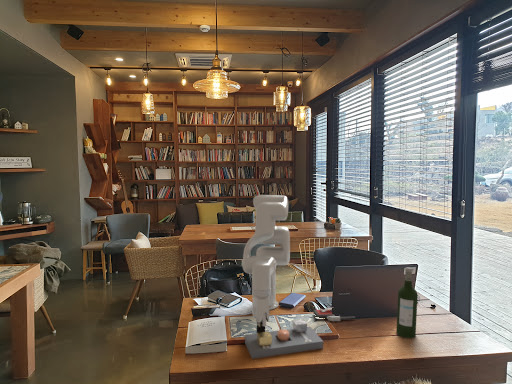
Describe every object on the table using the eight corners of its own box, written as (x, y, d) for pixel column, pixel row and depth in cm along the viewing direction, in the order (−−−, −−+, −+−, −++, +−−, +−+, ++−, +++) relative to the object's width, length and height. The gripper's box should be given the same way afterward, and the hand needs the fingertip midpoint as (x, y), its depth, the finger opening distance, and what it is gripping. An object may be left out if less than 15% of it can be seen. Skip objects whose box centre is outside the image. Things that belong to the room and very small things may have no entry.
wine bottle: (413, 331, 156) (416, 266, 153) (417, 339, 148) (420, 271, 146) (395, 328, 158) (397, 264, 155) (397, 337, 150) (400, 270, 148)
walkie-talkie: (315, 323, 164) (356, 321, 166) (315, 314, 163) (356, 312, 166) (310, 314, 172) (349, 313, 175) (310, 306, 172) (349, 304, 174)
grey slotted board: (244, 341, 145) (244, 334, 145) (309, 333, 153) (310, 326, 153) (252, 358, 133) (252, 350, 133) (323, 348, 141) (323, 340, 141)
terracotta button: (275, 336, 145) (275, 330, 144) (286, 335, 146) (286, 328, 146) (279, 342, 140) (279, 335, 140) (290, 340, 141) (290, 334, 141)
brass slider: (256, 341, 139) (256, 332, 139) (268, 339, 141) (268, 331, 140) (259, 346, 135) (259, 337, 135) (271, 344, 137) (271, 336, 136)
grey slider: (292, 328, 150) (292, 320, 150) (303, 326, 152) (303, 319, 151) (296, 332, 146) (296, 324, 146) (306, 331, 148) (307, 323, 148)
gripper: (247, 286, 147) (247, 327, 149) (257, 299, 133) (257, 345, 134) (264, 284, 149) (264, 325, 151) (275, 297, 135) (275, 342, 136)
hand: (260, 334), depth 143 cm, fingers closed
